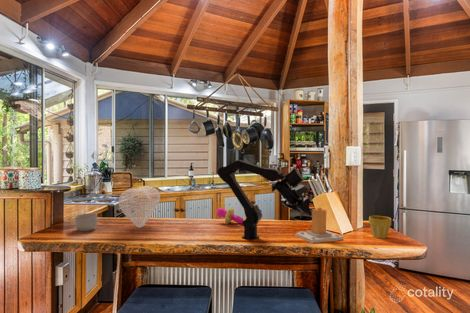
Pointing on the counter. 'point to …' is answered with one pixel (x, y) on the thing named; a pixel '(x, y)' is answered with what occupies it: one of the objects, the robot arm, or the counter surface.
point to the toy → (229, 215)
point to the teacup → (86, 221)
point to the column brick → (319, 221)
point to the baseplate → (318, 237)
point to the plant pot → (379, 226)
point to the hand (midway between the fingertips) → (305, 213)
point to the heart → (129, 213)
